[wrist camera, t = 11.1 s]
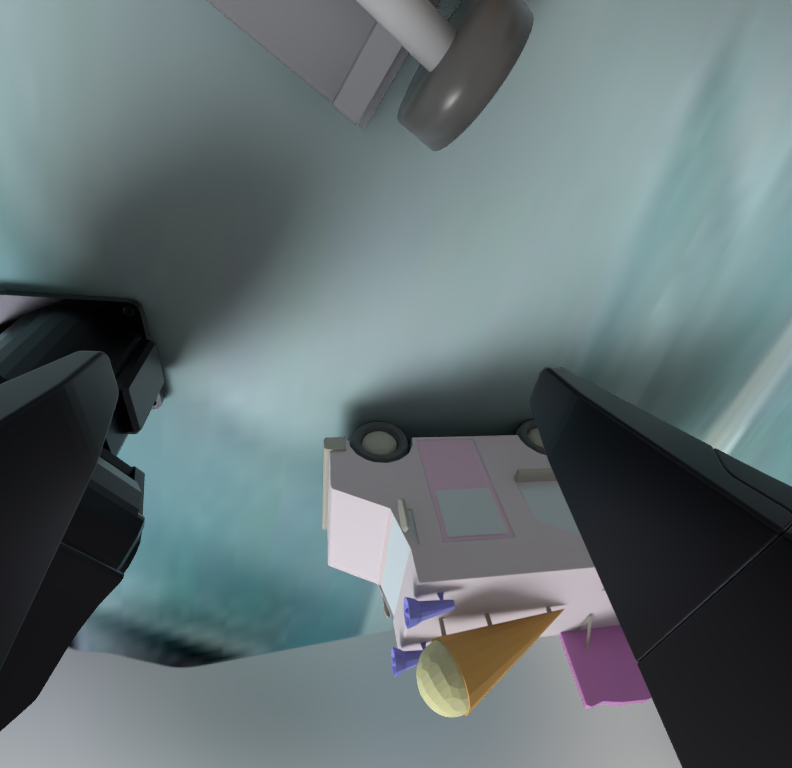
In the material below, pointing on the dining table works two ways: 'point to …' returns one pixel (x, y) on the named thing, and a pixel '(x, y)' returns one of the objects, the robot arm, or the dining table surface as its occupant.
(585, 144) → the dining table surface
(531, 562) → the toy vehicle
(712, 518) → the robot arm
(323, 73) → the chassis
